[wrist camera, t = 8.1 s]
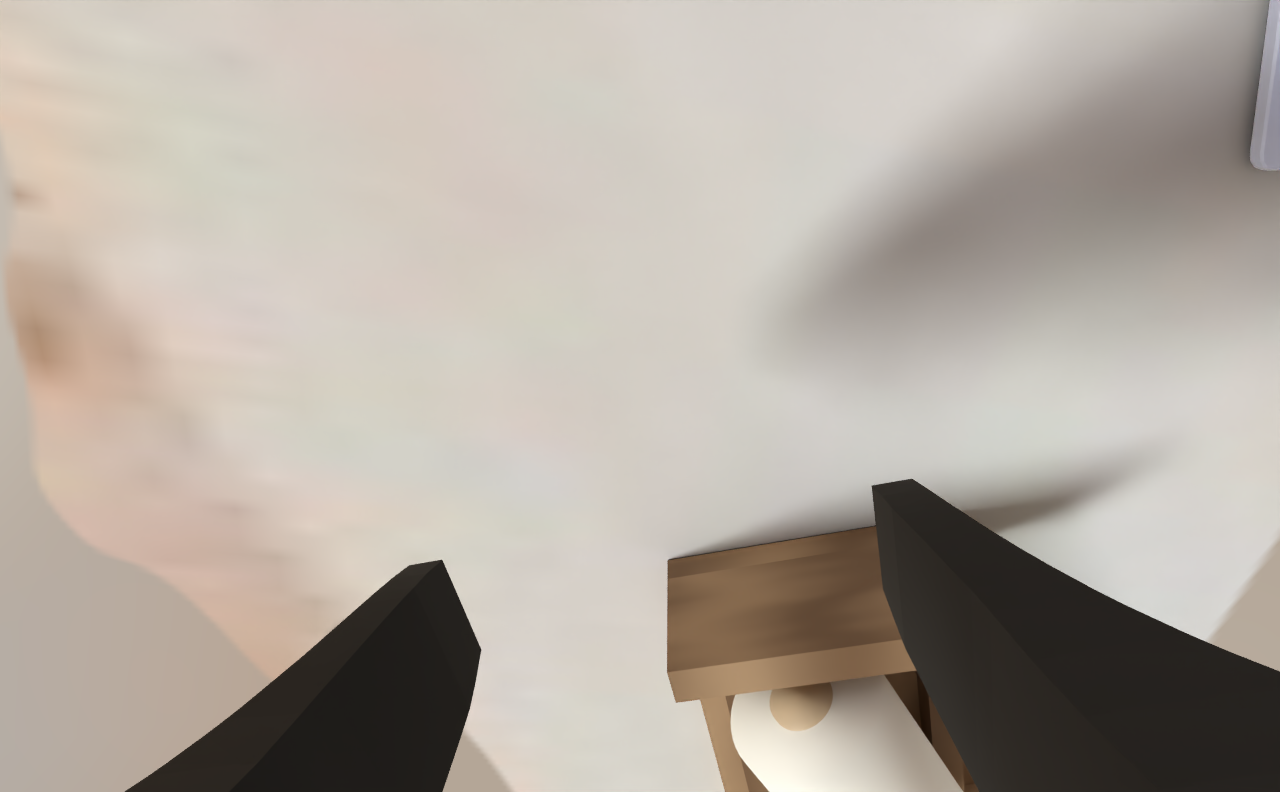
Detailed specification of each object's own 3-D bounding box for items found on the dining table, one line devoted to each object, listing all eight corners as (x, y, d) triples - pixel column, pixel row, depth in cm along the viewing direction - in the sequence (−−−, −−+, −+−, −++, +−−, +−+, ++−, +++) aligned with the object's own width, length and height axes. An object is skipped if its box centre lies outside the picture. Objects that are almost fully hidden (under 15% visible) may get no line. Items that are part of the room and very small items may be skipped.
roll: (838, 602, 21) (911, 722, 17) (939, 750, 24) (1025, 891, 19) (713, 675, 22) (749, 811, 17) (825, 812, 24) (882, 964, 20)
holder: (958, 512, 21) (1038, 620, 17) (971, 779, 26) (1035, 918, 22) (667, 560, 22) (667, 672, 18) (733, 805, 27) (745, 942, 23)
